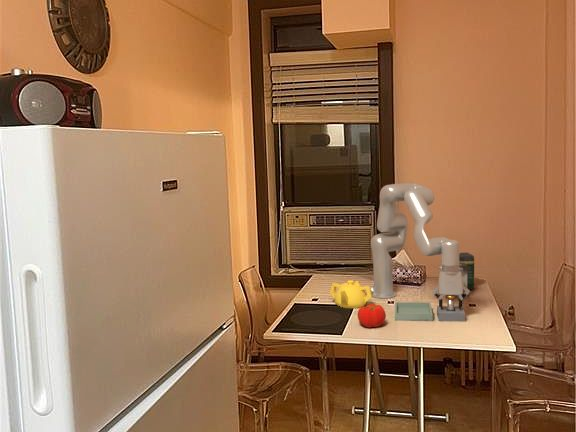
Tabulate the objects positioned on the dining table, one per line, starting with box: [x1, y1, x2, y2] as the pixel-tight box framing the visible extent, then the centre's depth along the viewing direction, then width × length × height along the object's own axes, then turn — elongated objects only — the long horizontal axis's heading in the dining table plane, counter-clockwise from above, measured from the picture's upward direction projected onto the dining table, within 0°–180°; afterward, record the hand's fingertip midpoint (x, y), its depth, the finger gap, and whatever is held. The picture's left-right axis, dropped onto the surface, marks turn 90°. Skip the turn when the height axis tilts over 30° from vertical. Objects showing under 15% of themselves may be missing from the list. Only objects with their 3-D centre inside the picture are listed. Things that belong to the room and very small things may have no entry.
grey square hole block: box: [436, 305, 466, 322], centre depth 265 cm, size 11×11×4 cm
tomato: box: [357, 303, 387, 328], centre depth 258 cm, size 13×12×8 cm
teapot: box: [329, 279, 373, 309], centre depth 292 cm, size 17×17×12 cm
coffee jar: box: [459, 252, 475, 291], centre depth 314 cm, size 10×8×19 cm
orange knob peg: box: [444, 295, 457, 311], centre depth 265 cm, size 4×4×10 cm
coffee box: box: [455, 263, 468, 299], centre depth 299 cm, size 9×6×16 cm
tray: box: [394, 301, 434, 322], centre depth 272 cm, size 16×19×3 cm
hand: (450, 308), depth 265 cm, fingers open, 7 cm apart
